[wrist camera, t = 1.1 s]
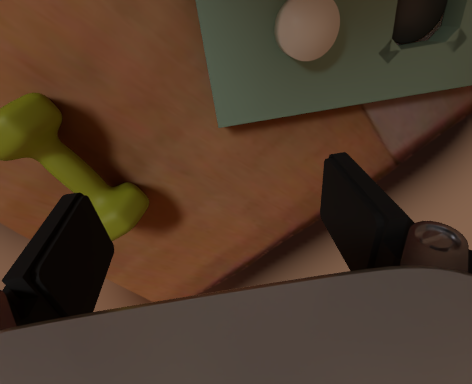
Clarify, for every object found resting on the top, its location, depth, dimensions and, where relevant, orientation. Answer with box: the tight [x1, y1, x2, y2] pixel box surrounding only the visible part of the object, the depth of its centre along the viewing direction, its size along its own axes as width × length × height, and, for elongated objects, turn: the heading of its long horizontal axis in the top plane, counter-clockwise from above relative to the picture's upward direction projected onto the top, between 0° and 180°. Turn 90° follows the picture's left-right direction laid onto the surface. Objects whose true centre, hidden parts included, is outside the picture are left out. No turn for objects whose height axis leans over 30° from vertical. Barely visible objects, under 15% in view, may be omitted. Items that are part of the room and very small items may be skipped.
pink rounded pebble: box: [274, 0, 340, 61], centre depth 24 cm, size 5×5×2 cm
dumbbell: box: [0, 93, 149, 241], centre depth 29 cm, size 16×8×7 cm, turn 31°
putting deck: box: [196, 0, 472, 128], centre depth 26 cm, size 16×28×2 cm, turn 98°
